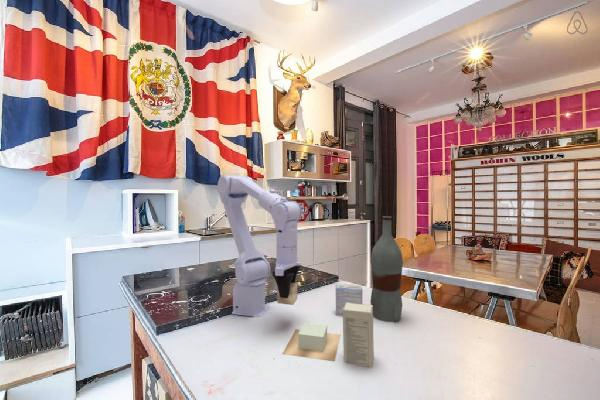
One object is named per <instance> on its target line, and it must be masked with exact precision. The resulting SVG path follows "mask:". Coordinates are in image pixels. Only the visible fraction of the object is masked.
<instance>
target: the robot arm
mask: <svg viewBox="0 0 600 400" xmlns="http://www.w3.org/2000/svg"><path fill="white" fill-rule="evenodd" d="M216 189H217V192H218V196H219V198H220V202H221V203H222V204H223V208H224V211H225V214H226V217H227V220H228V223H229V224H228V225H229V227H230V230H231V233H232V236H233V239H234V242H235V246H236V249H237V252H238V257H237V258H236V260H235V261H234V263H233V265H234V270H235V279H236V283H235V284H234V287H233V291H232V312H231V314H232V315H238V316H244V317H245V316H247V317H259V318H260V317H262V316H263V315H264V314H265V312H266V311H267V310H269V308H270V304H268V305H267V304H266V282H267V281H268V278H269V277H270V275H271V274H272V275H271V276H272V278H273V279H274V281H275V283H276V286H277V287H278V290H279V295H280V298H288V296H289V291H290V284H291V283H296V279H297V276H298V272H299V271H300V269H301V265H302V261H301V260H298V221H300V219H301V218H302V214H303V211H302V207H301V205H300V204H299V203H298V202H297V201H296V200H293V201H289V200H287V197H285V196H282V195H279V194H278V193H277V190H275V189H266V190H265V189H263V188H262V187H261V186H260V185H258V184H257V183H256V182H255V181H254V180H253V178H252V177H249V176H248V175H229V174H222V175H221V176H219V178H218V182H217V186H216ZM248 196H250V197H252V198H254V199H255V200H257V203H258V205H259V207H260V208H261V209H263V210H265V211H266V212H268V213H269V214H270V215H271V217H272V220H273V222H274V228H275V229H276V260H275V267H274V270H273V271H272V273H271V266H270V263H269V262H268V260H267V259H266V257H265V254H264V253H262V252H260V251H259V250H257V248H256V246H255V244H254V240H253V237H252V234H251V231H250V229H249V226H248V222H247V219H246V218H245V214H244V211H243V209H242V204H244V203H245V202H246V200H247V198H248ZM236 306H238V308H237V307H236Z"/></svg>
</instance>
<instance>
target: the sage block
mask: <svg viewBox="0 0 600 400" xmlns="http://www.w3.org/2000/svg"><path fill="white" fill-rule="evenodd" d="M299 330H300V332H299V333H298V349H305V350H313V351H320V352H323V351H324V348H325V345H326V341H327V333H328V325H327V324H320V323H311V322H310V323H309V322H303V324H302V326H301V327H300V329H299Z"/></svg>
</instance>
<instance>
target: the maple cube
mask: <svg viewBox="0 0 600 400" xmlns="http://www.w3.org/2000/svg"><path fill="white" fill-rule="evenodd" d="M276 291H277V292H276V293H277V295H276V301H277V302H276V303H277V304H281V305H290V306H294V304H295V303H296V301H297V300H298V282H295V283H291V284H290V291H289V296H288V298H280V295H279V290H278V286H277V287H276Z"/></svg>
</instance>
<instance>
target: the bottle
mask: <svg viewBox="0 0 600 400" xmlns="http://www.w3.org/2000/svg"><path fill="white" fill-rule="evenodd" d="M392 218H393V217H392V216H389V215H385V216H384V215H383V216H382V229H381V230H382V232H381V233H382V234H381V236H380V237H379V239H378V240H377V241H376V243H375V244H374V246H373V248H372V251H371V256H370V257H371V258H370V266H371V278H372V280H371V282H372V288H371V295H370V305H373V318H375V319H377V320H379V321H383V322H394V323H396V322H398V321H400V319H401V315H402V311H403V300H402V299H403V298H402V291H401V285H402V273H403V265H404V262H403V261H404V260H403V254H402V253H403V252H402V249H401V248H400V246H399V245H398V242H396V240H395V238H394V236H393V235H392Z"/></svg>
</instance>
